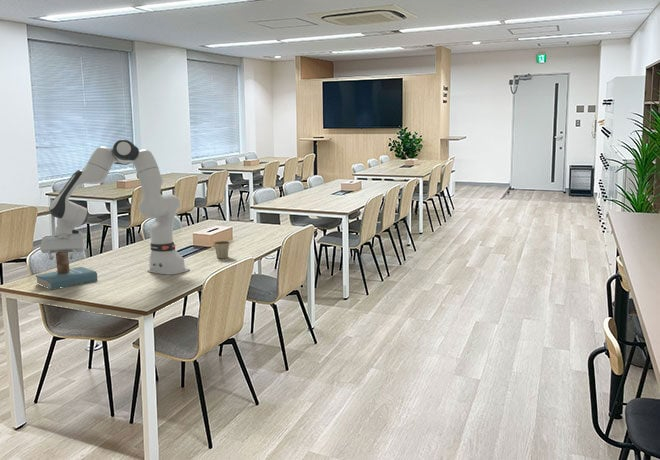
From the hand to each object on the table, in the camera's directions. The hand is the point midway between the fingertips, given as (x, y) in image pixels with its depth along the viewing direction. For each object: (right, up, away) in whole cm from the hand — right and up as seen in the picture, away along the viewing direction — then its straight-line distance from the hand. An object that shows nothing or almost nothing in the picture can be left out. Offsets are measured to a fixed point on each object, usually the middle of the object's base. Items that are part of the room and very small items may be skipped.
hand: (61, 258), depth 292 cm
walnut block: (0, -7, +2) cm, 7 cm away
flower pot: (+69, -2, +53) cm, 87 cm away
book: (+3, -12, +1) cm, 13 cm away
